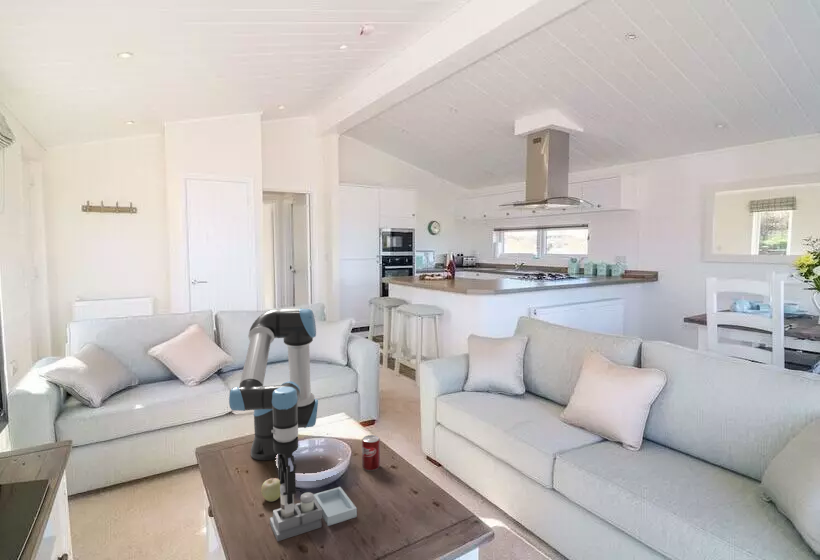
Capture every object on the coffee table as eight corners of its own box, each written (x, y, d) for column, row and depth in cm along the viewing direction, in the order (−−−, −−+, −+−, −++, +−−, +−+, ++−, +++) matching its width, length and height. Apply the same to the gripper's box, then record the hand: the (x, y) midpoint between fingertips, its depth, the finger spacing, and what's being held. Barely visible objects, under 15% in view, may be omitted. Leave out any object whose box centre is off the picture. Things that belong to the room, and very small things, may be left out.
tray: (313, 502, 159) (313, 494, 159) (340, 494, 164) (340, 486, 163) (328, 526, 146) (327, 517, 146) (356, 516, 151) (356, 508, 151)
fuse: (279, 520, 146) (278, 484, 144) (292, 516, 148) (291, 481, 146) (282, 527, 142) (281, 490, 141) (296, 523, 144) (295, 487, 143)
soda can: (373, 473, 178) (372, 444, 177) (358, 468, 182) (358, 439, 181) (383, 465, 185) (383, 437, 184) (369, 460, 188) (369, 433, 187)
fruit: (287, 497, 162) (287, 475, 161) (271, 507, 156) (270, 485, 155) (273, 490, 166) (272, 469, 165) (256, 500, 160) (256, 478, 159)
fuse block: (269, 523, 147) (269, 497, 146) (313, 510, 154) (313, 485, 153) (277, 541, 138) (276, 514, 138) (323, 526, 146) (323, 500, 145)
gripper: (267, 429, 148) (269, 497, 150) (280, 451, 133) (282, 526, 135) (290, 425, 151) (291, 491, 154) (305, 445, 137) (307, 518, 139)
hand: (287, 507), depth 144 cm, fingers closed on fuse, 4 cm apart
